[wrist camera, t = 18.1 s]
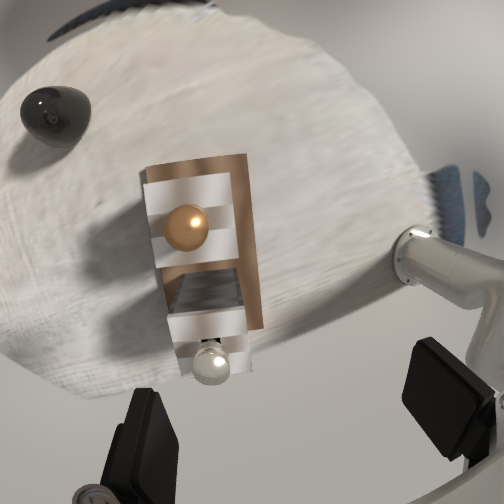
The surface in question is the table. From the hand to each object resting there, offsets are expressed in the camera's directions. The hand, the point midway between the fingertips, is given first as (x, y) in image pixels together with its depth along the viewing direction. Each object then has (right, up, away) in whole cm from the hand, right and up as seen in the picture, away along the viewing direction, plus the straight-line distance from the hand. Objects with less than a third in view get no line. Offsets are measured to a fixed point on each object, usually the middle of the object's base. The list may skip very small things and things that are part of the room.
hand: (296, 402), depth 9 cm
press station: (-9, +5, +39) cm, 41 cm away
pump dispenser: (-32, +28, +31) cm, 53 cm away
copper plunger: (-9, +12, +36) cm, 39 cm away
